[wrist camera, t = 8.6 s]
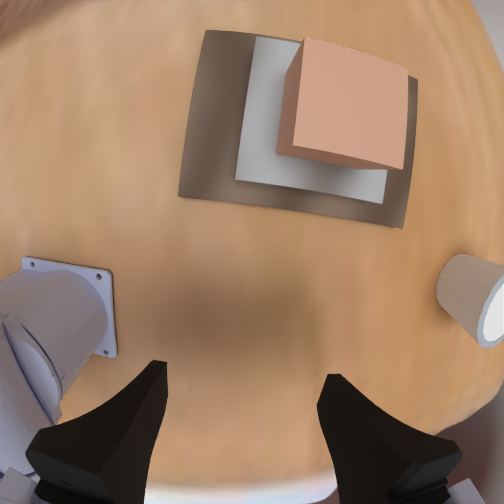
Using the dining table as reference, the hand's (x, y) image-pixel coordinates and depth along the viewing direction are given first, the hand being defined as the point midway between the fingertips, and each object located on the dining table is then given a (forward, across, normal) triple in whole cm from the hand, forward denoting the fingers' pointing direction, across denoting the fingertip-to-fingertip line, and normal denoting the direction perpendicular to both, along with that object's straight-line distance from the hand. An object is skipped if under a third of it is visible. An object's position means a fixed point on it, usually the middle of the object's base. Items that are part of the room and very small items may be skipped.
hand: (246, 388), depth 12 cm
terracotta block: (+6, -3, -13) cm, 14 cm away
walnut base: (+10, -3, -13) cm, 17 cm away
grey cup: (+10, -20, -3) cm, 23 cm away
